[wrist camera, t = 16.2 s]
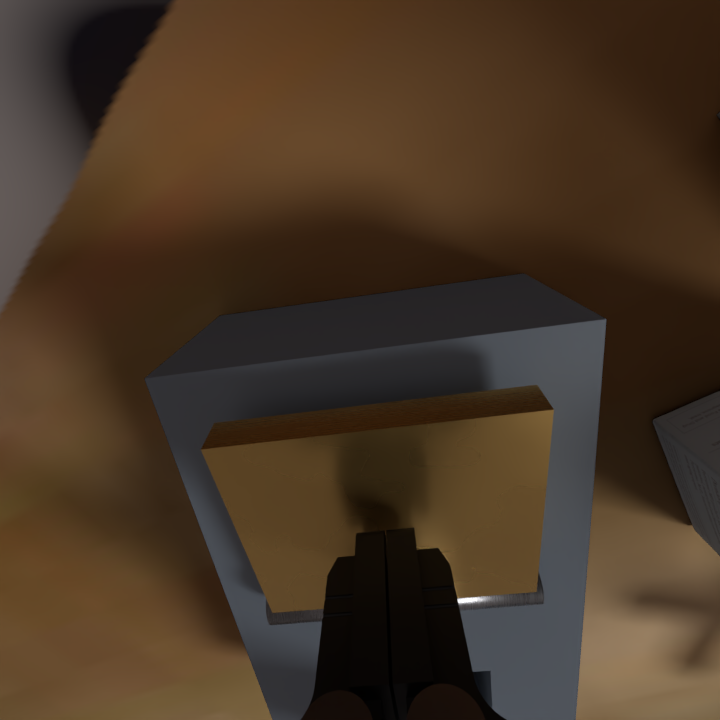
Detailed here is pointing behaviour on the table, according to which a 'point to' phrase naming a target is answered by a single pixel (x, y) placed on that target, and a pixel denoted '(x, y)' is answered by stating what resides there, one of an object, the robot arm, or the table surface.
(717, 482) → the supplement box
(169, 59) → the table surface
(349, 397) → the pin block
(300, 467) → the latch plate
